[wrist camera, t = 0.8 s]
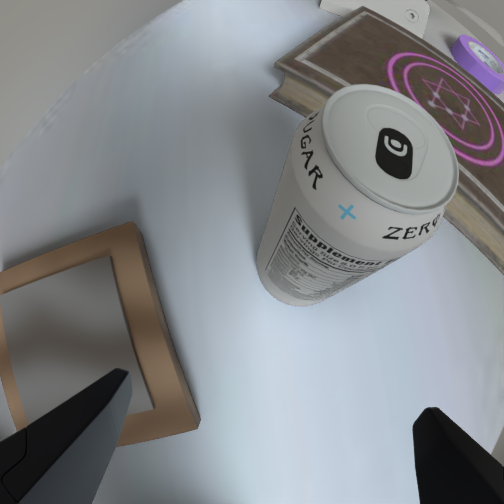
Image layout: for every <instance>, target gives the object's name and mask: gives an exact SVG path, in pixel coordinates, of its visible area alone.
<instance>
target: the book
mask: <svg viewBox="0 0 504 504" xmlns="http://www.w3.org/2000/svg"><path fill="white" fill-rule="evenodd" d="M274 67H275V68H277V69H279V70H281V71H283V72H285V80H284V82H283V84H282V85H281V86H280V87H279V88H277V89H276V90H275V91H274V92H273V93H272V94H270V95H269V97H270V98H272V99H274V100H276V101H278V102H280V103H281V104H283V105H285V106H287V107H289V108H290V109H292V110H294V111H296V112H297V113H299V114H301V115H303V116H304V117H307V116H308V115H309V114H311V113H313V112H314V111H316V110H318V109H319V108H321V107H323V106H325V104H326V102H327V100H328V99H329V98H330V97H331V96H332V95H333V94H334V93H335V92H336V91H338V90H340V89H342V88H344V87H347V86H351V85H356V84H370V85H378V86H381V87H385V88H389V89H391V90H394V91H396V92H398V93H401V94H402V95H404V96H406V97H408V98H410V99H411V100H413V101H414V102H416V103H417V104H418V105H420V106H421V107H422V108H423V109H425V110H426V111H427V112H428V113H429V114H430V115H431V116H432V117H433V118H434V119H435V120H436V122H437V123H438V124H439V125H440V126H441V128H442V129H443V131H444V132H445V134H446V135H447V137H448V138H449V140H450V142H451V145H452V147H453V149H454V152H455V155H456V158H457V162H458V169H459V179H458V185H457V188H456V192H455V194H454V195H453V197H452V198H451V200H450V201H449V202H448V203H447V204H446V207H445V211H444V215H443V217H444V218H446V219H447V220H448V221H449V222H450V223H451V224H452V225H453V226H455V227H456V228H457V229H458V230H459V231H460V232H461V233H462V234H463V235H464V236H465V237H466V238H468V239H469V240H470V241H471V242H472V243H473V244H474V245H475V246H476V247H477V248H478V249H479V250H480V251H481V252H482V253H483V254H484V255H485V256H486V257H487V258H488V259H489V260H490V261H491V262H492V263H493V264H494V265H495V266H496V267H497V268H498V269H499V270H500V271H501V273H502V274H503V275H504V103H503V102H502V101H501V100H500V99H499V98H498V97H497V96H495V95H494V94H493V93H492V92H491V91H490V90H489V89H488V88H487V87H485V86H484V85H483V84H482V83H481V82H480V81H478V80H477V79H476V78H475V77H474V76H472V75H471V74H470V73H469V72H467V71H466V70H465V69H464V68H462V67H461V66H460V65H459V64H457V63H456V62H455V61H453V60H452V59H451V58H449V57H448V56H446V55H445V54H444V53H442V52H441V51H439V50H438V49H437V48H435V47H434V46H432V45H431V44H429V43H428V42H426V41H425V40H423V39H422V38H420V37H418V36H417V35H415V34H414V33H412V32H410V31H409V30H407V29H405V28H404V27H402V26H400V25H399V24H397V23H395V22H393V21H391V20H390V19H388V18H386V17H384V16H382V15H380V14H378V13H377V12H375V11H373V10H371V9H369V8H367V7H365V6H361V7H359V8H357V9H356V10H354V11H352V12H351V13H349V14H347V15H345V16H344V17H342V18H340V19H339V20H337V21H336V22H334V23H332V24H331V25H329V26H328V27H326V28H324V29H323V30H321V31H320V32H318V33H317V34H315V35H314V36H312V37H311V38H309V39H308V40H306V41H305V42H303V43H302V44H300V45H299V46H297V47H296V48H295V49H293V50H292V51H290V52H289V53H288V54H286V55H285V56H283V57H282V58H281V59H279V60H278V61H277V62H275V65H274Z"/></svg>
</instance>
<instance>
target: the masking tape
mask: <svg viewBox="0 0 504 504" xmlns="http://www.w3.org/2000/svg"><path fill="white" fill-rule="evenodd" d="M451 53H452V55H453V57H454V59H455V60H456V62H457V63H458V64H459V65H460V66H461V67H462V68H464V69H465V70H466V71H467V72H469V73H470V74H471V75H472V76H474V77H475V78H476V79H477V80H478V81H480V82H481V83H482V84H483V85H484V86H485V87H487V88H488V89H489V90H490V91H491V92H492V93H495V94H500V93H501V92H502V91H503V90H504V65H503V63H502V62H501V61H500V60H499V59H498V58H497V57H496V56H495V55H494V54H493V53H492V52H491V51H490V50H489V49H488V48H487V47H485V46H484V45H483V44H481V43H480V42H478V41H477V40H475V39H474V38H472V37H469V36H467V35H460V36H459V38H458V39H457V41H456V42H455V44H454V46H453V47H452V49H451Z"/></svg>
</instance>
